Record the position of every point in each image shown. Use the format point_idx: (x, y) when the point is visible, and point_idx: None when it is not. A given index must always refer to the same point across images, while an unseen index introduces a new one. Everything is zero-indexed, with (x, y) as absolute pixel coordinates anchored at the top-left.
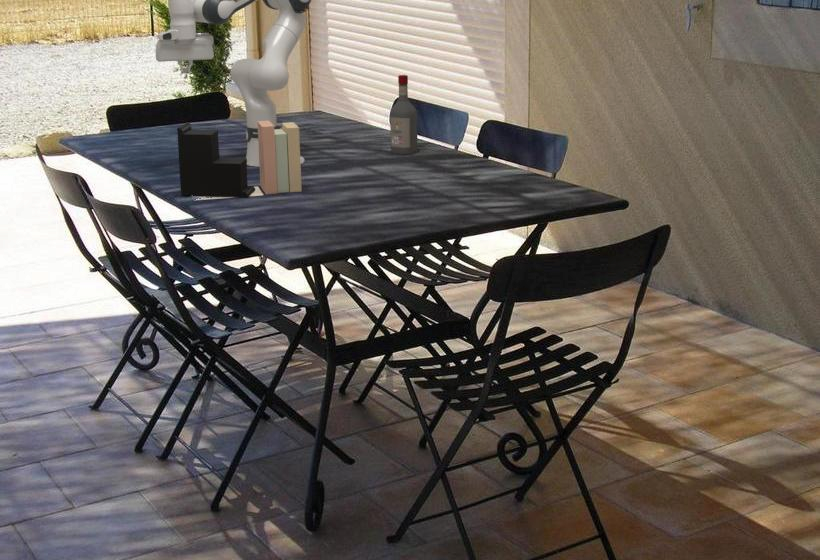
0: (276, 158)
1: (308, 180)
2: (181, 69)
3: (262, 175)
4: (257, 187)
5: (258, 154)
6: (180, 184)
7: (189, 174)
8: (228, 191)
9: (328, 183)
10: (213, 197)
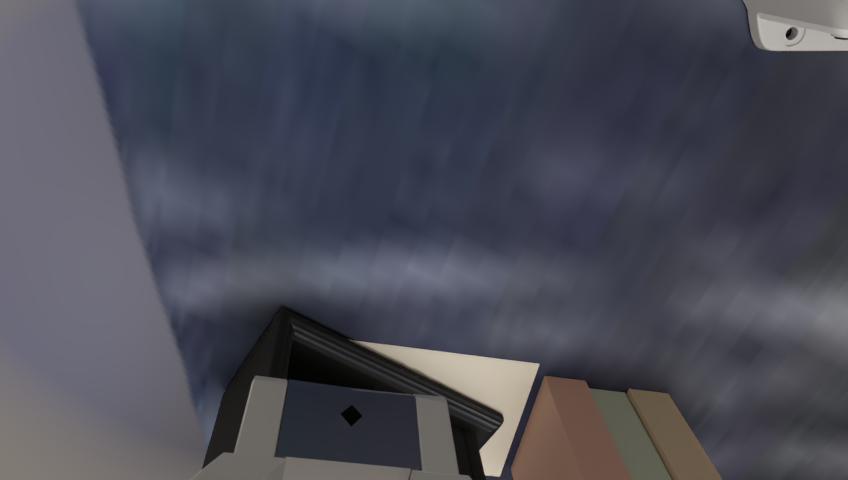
0: None
1: (743, 353)
2: (238, 441)
3: (539, 469)
4: (530, 377)
5: (786, 1)
6: (215, 425)
7: None
8: None
9: (766, 419)
10: None
